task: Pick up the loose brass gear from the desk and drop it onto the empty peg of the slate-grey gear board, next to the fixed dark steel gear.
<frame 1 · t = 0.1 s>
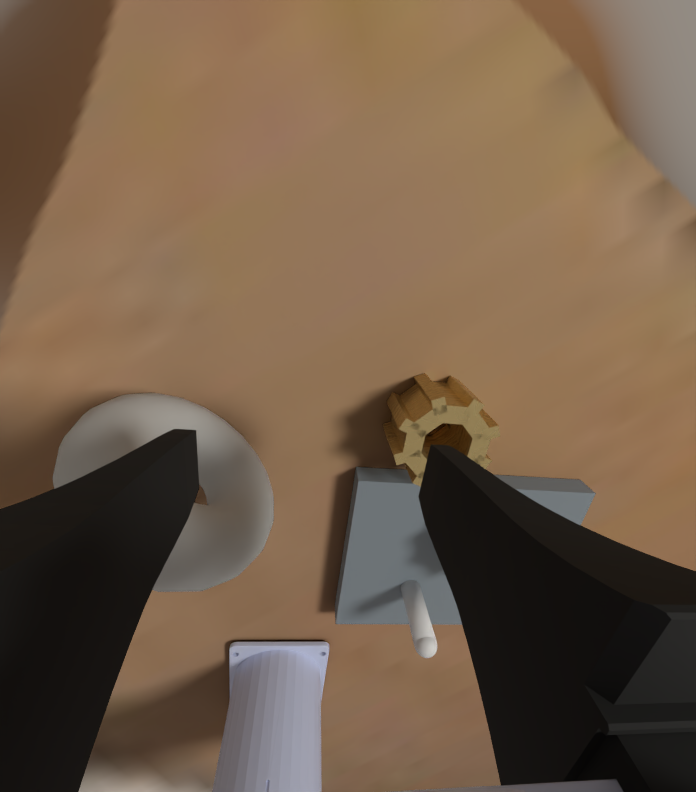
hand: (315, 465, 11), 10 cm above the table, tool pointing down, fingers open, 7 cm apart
gear board: (450, 546, 26), on the table
donut: (213, 428, 21), on the table
brass gear: (428, 416, 22), on the table
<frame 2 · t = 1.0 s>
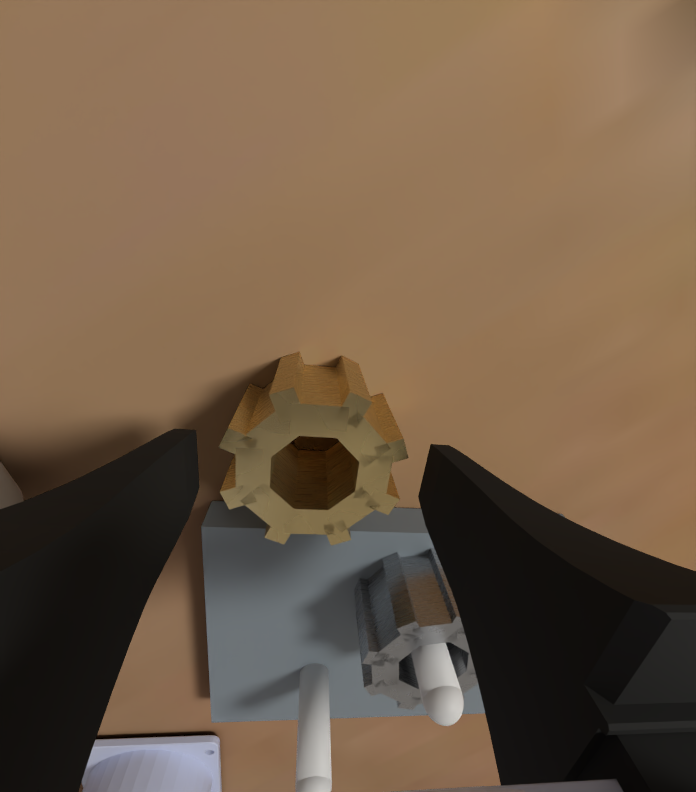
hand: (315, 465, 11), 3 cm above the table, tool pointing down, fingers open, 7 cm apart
fixed gear: (413, 593, 16), resting on gear board
gear board: (376, 608, 18), on the table
brass gear: (314, 422, 14), on the table
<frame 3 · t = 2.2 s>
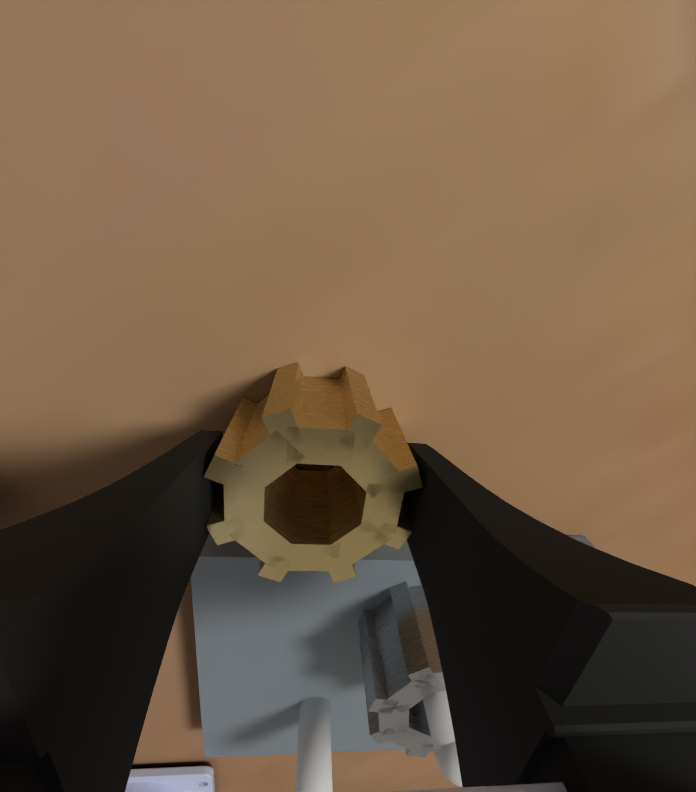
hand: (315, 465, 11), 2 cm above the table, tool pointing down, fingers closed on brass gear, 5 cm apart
fixed gear: (422, 624, 15), resting on gear board
gear board: (381, 636, 17), on the table
brass gear: (315, 439, 12), on the table, touching gripper
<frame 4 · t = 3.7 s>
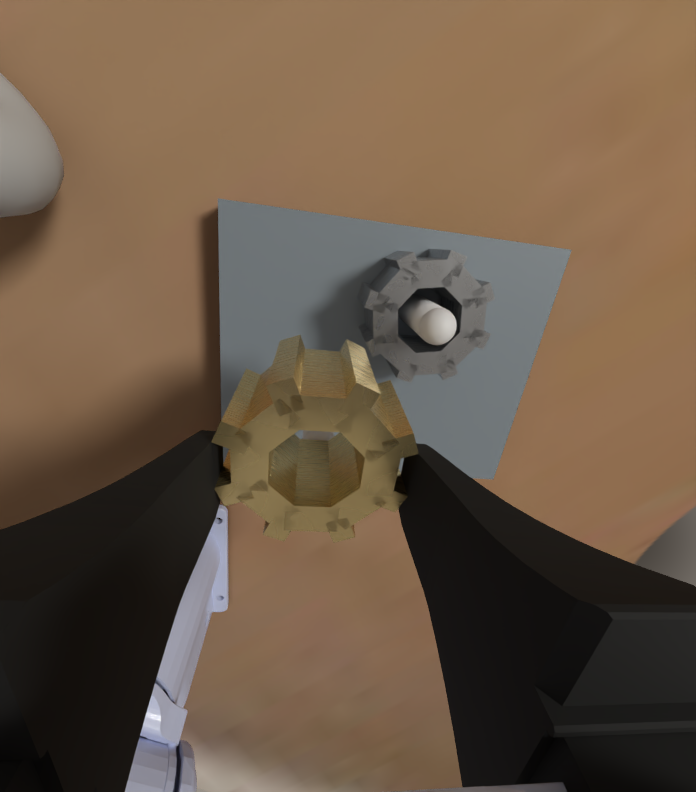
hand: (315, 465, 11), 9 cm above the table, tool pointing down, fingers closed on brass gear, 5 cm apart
fixed gear: (411, 308, 17), resting on gear board
gear board: (377, 356, 20), on the table
donut: (0, 114, 14), on the table
brass gear: (316, 409, 13), point 7 cm above the table, touching gripper
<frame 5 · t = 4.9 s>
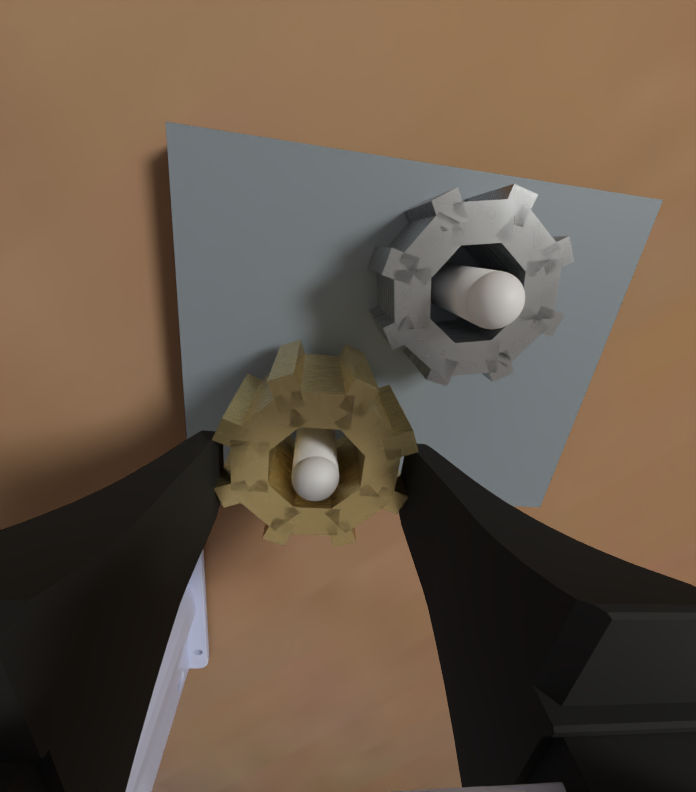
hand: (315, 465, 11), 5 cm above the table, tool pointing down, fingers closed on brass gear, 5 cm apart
fixed gear: (442, 284, 13), resting on gear board
gear board: (392, 352, 15), on the table
brass gear: (316, 415, 13), point 2 cm above the table, touching gripper
when the fingers open (5 cm above the table, at t = 5.6 s): brass gear stays where it is, resting on gear board.
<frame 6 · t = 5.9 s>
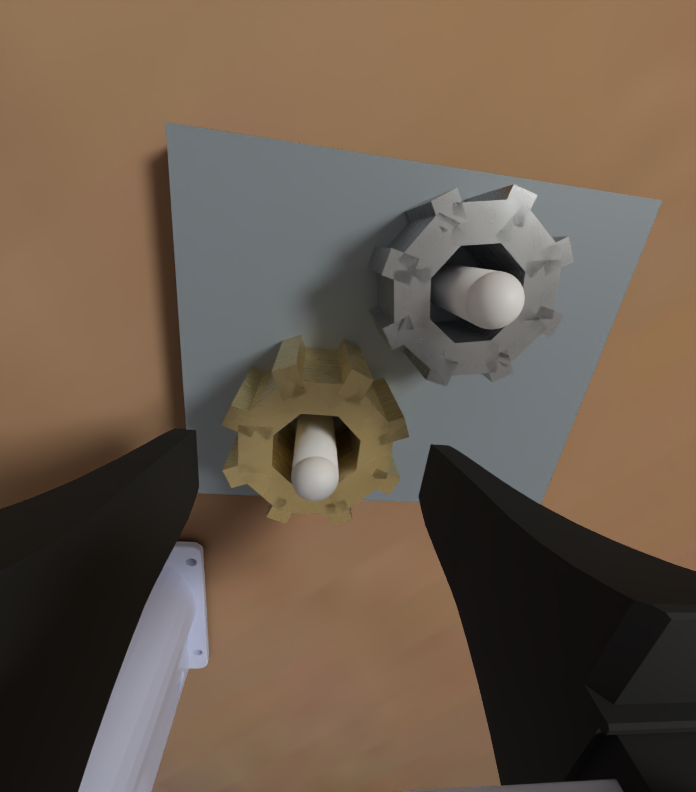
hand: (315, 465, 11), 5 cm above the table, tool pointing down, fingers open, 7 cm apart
fixed gear: (441, 284, 13), resting on gear board
gear board: (392, 352, 15), on the table
brass gear: (316, 405, 14), point 1 cm above the table, touching gear board
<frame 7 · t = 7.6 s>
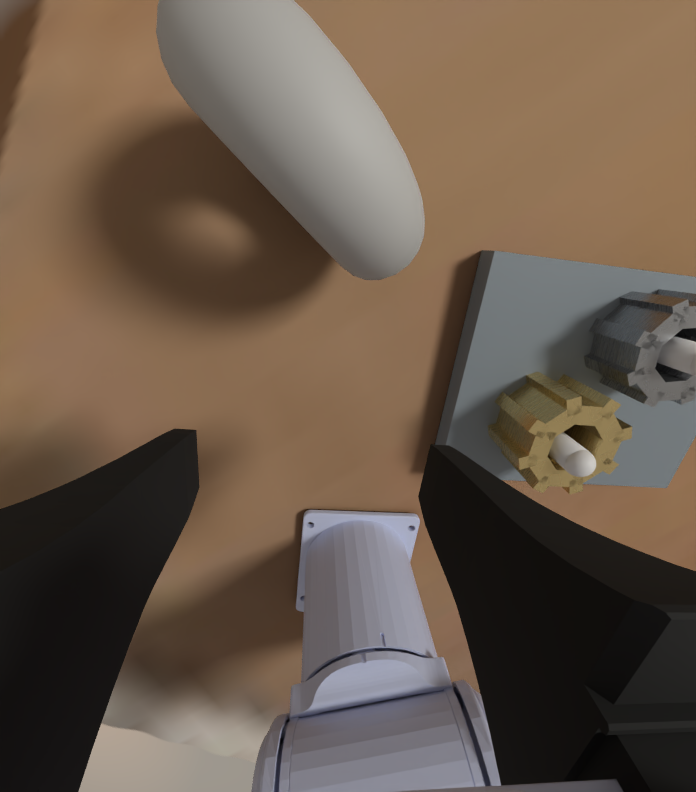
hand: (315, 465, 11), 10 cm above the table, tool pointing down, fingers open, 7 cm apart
fixed gear: (632, 339, 19), resting on gear board
gear board: (577, 380, 22), on the table
donut: (310, 181, 17), on the table
brass gear: (535, 417, 21), point 1 cm above the table, touching gear board
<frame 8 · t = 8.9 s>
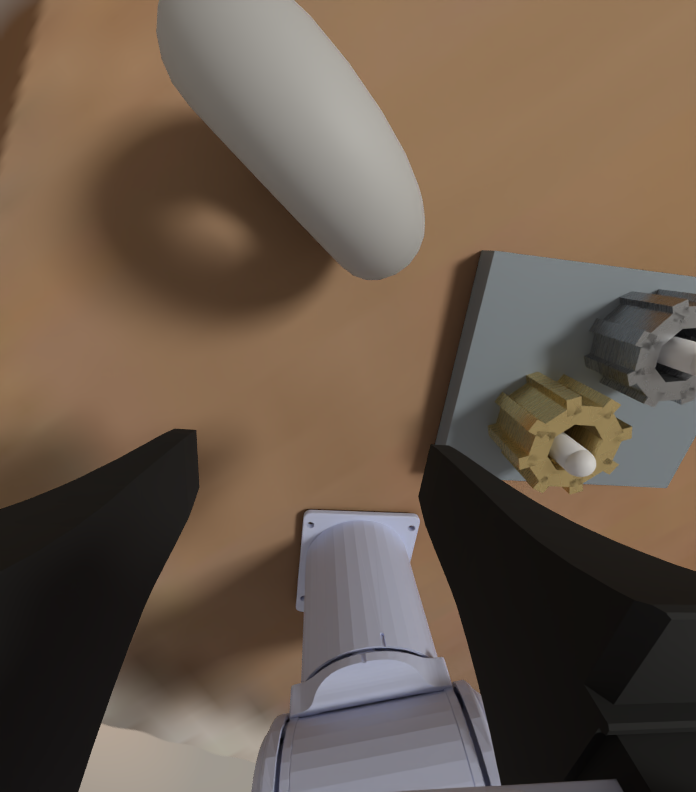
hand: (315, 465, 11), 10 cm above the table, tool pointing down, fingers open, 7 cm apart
fixed gear: (632, 339, 19), resting on gear board
gear board: (577, 380, 22), on the table
donut: (310, 181, 17), on the table
brass gear: (535, 417, 21), point 1 cm above the table, touching gear board
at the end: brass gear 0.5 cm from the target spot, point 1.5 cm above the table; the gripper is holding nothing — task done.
